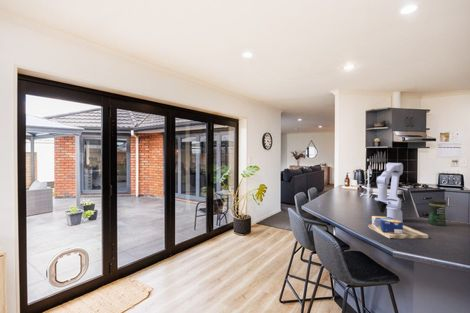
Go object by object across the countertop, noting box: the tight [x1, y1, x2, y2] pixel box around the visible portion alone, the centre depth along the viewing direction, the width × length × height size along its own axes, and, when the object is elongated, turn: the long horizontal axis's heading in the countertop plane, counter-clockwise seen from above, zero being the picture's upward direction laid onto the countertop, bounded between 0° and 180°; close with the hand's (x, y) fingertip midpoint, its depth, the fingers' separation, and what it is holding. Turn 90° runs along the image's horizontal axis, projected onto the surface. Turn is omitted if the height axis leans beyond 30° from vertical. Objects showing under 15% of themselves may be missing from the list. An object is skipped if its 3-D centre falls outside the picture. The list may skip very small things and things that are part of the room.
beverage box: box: [371, 215, 404, 234], centre depth 158 cm, size 7×11×22 cm
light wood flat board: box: [367, 224, 429, 239], centre depth 155 cm, size 24×22×2 cm
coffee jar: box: [427, 198, 447, 227], centre depth 174 cm, size 10×8×19 cm
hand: (382, 212), depth 169 cm, fingers closed
